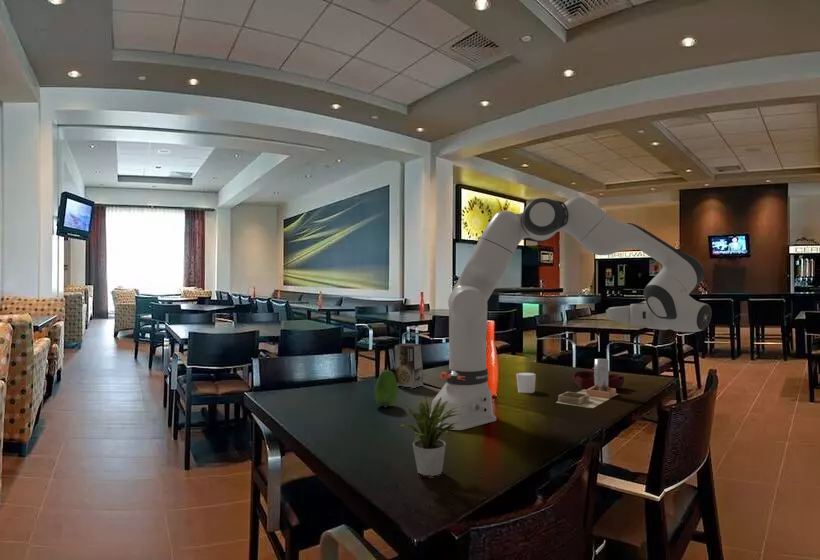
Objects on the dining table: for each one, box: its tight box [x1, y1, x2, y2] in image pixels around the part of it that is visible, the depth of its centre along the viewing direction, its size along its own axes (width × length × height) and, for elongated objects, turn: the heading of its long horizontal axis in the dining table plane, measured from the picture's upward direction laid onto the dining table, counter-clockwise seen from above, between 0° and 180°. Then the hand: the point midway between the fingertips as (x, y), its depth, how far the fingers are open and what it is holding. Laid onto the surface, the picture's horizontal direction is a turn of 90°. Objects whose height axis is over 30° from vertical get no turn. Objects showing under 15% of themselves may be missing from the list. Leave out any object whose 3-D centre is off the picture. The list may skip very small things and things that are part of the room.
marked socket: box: [587, 386, 617, 400], centre depth 172 cm, size 7×7×2 cm
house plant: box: [400, 396, 464, 476], centre depth 106 cm, size 14×14×16 cm
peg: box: [593, 358, 609, 392], centre depth 172 cm, size 4×4×12 cm
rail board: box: [555, 389, 619, 409], centre depth 168 cm, size 24×12×3 cm, turn 140°
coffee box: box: [394, 342, 424, 389], centre depth 194 cm, size 9×6×16 cm
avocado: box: [373, 369, 399, 407], centre depth 163 cm, size 8×8×12 cm
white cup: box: [515, 371, 537, 394], centre depth 179 cm, size 7×7×7 cm
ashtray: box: [572, 370, 625, 390], centre depth 187 cm, size 18×16×5 cm
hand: (618, 311), depth 162 cm, fingers open, 8 cm apart
